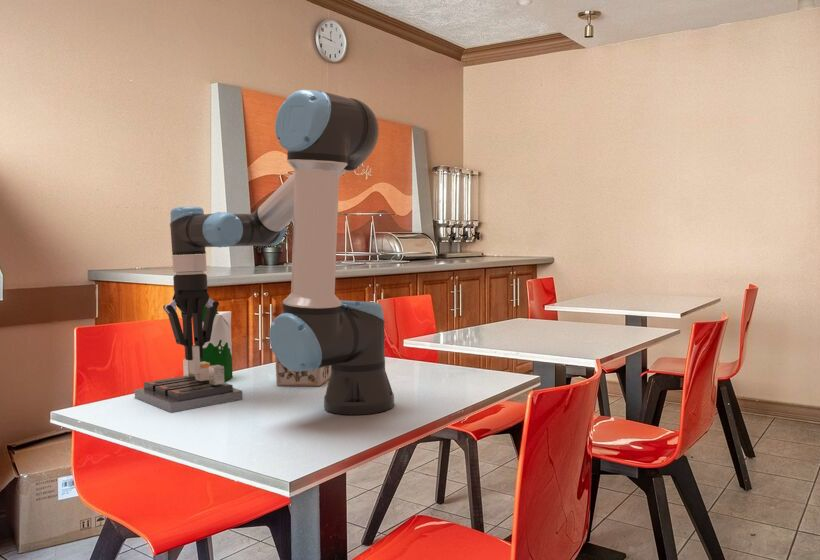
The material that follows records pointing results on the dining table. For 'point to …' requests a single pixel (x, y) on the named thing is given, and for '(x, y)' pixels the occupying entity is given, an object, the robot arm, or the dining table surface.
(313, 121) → the robot arm
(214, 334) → the milk carton
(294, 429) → the dining table surface
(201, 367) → the toggle
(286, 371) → the decorative jar
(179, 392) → the breaker panel
